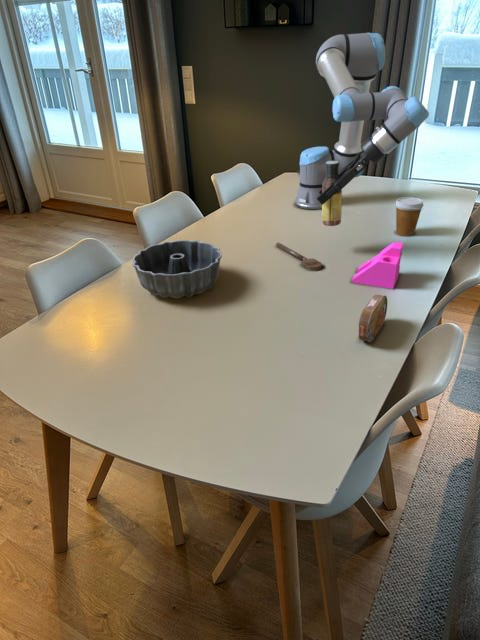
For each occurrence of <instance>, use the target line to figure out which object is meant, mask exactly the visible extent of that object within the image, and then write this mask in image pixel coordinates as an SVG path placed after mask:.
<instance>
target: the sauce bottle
mask: <svg viewBox="0 0 480 640" xmlns="http://www.w3.org/2000/svg"><path fill="white" fill-rule="evenodd" d="M338 167H339V162H338V161H328V162H326V178H325V180H324V181H323V184H322V193H323V192H324V191H325V190H326V189H327V188H329V187H330V186H331V185H332V184H331V183H332V182H333V183H335V182H336V181H337V180H338V179H339V177H338ZM342 201H343V189H342V190H341V191H337V192H336V193H335V194H334V195H333V196H332V197H331V198H330V199H329V200H328V201H326V202H325V203H324V204H323V205H322V209H321V221H322V224H323V225H324V226H327V227H335V226H339V225H340V224H341V223H342Z"/></svg>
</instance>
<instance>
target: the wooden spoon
mask: <svg viewBox="0 0 480 640" xmlns="http://www.w3.org/2000/svg"><path fill="white" fill-rule="evenodd" d="M275 247H276V248H278V249H280V250H282V251H283V252H285V253H286V254H289V255H290V256H292V257H294V258H296V259H298V260H299V261H300V262H301V267H302V268H305V269H306V270H308V271H319V270H321V269H322V266H323V265H322V262H321V261H319V260H318V259H315V258H307V257H306V256H304V255H302V254H301V253H299V252H296V251H295V250H293V249H291V248H289V247H288V246H286V245H285V244H282V243H280V242H276V243H275Z"/></svg>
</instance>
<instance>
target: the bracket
mask: <svg viewBox="0 0 480 640" xmlns="http://www.w3.org/2000/svg"><path fill="white" fill-rule="evenodd" d="M403 249H404V242H402V241H393V242H392V243H390V244H388V246H386V247H385V248H383V249H382V250H381V251H380V253H377V255H375V256H374V257H373V258H371V259H370V260H368V261H365V262H363V263H362V264H361V265H359V266H358V268H357V270H356V271H357V272H356V274H354V276H353V277H352V279H351V283H353V284H357V285H358V284H359V285H366V286H372V287H378V288H384V289H385V288H386V289H393V290H394V288H395V285H396V283H397V281H398V278H399V275H400V270H401V266H400V265H401V259H402V255H403Z"/></svg>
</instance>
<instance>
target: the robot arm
mask: <svg viewBox="0 0 480 640" xmlns="http://www.w3.org/2000/svg"><path fill="white" fill-rule="evenodd" d="M385 61H386V45H385V41H384V38H383V37H382V35H381V34H380V33H378V32H362V33H360V32H359V33H350V34H349V33H348V34H347V33H346V34H336V35H333V36H331V37H329V38H328V39H326V40H325V41H324V42H323V43H322V45H321V46H320V47H319V49H318V51H317V53H316V57H315V65H316V66H315V67H316V70H317V72H318V73H319V75H320V76H321V77H323V78H324V79H325V81H326V83H327V85H328V87H329V90H330V92H331V94H332V96H333V98H334V99H333V100H332V117H333V119H334V121H336V122H337V123H338V122H339V123H340V131H339V137H338V138H339V139H338V141H337V142H336V143H335V144H334V145H333V146H334V147H333V149H332V150H330V149H329V146H324V145H323V146H314V147H309V148H306V149H305V150H303V151H302V152H301V154H300V155H299V167H298V168H297V170H296V171H297V173H298V174H299V187H298V190H297V193H296V196H295V199H294V206H295V207H297V208H299V209H303V210H322V205H323V204H324V203H325V202H326V201H328V200H329V199H330V198H331V197H332V196H333V195H334V194H335V193H336V192H337V191H341V190H342V191H343V189H344V188H346V186H347V185H348V184H349V183H350V182H351V181H353V180H354V179H355V178H358V177H360V176H362V175H363V173H364V171H365V168H366V167H368V165H367V164H368V163H369V162H370V161H371V162H372V163H373V164H375V165H376V164H379V163H380V162H381V161H382V160H383V159H384V158H385V157H386V155H388V154H390V153H391V152H392V151H394V149H395V148H397V147H398V146H399V144H401V143H402V142H403V141H404V140H405V139H407V138H408V137H409V136H410V135H411V134H412V133H414V131H415V130H417V129H418V128H419V127H420V126H421V125H422V124H423V123H424V122H425V121H426V120H427V119H428V118H429V116H430V112H429V110H428V109H427V108H426V107H425V106H424V104H423V103H422V102H421V100H419V98H418V97H416V96H415V95H414V96H413V95H412V96H411V97H410V98H408V97H407V94H406V93H405V92H404V91H403V90H402V89H401V88H400V87H398V86H395V85H389V86H387V87H385V88H384V89H382V90H381V91H379V92H370V87H371V82H372V81H373V80H375V79H376V77H377V73H378V72H379V71H381V70H383V69H384V66H385V63H386V62H385ZM377 120H385V121H384V122H383V123H382V124H381V125H380V126H376V127H375V131H373V133H372V134H371V136H369V137H367V138H366V139H365V140H364V141H363V142H361V141H362V134H363V129H364V123H365V121H377ZM328 161H338V162H339V167H338V177H339V179H338V180H337V181H336V182H335V183H333V182H332V183H331V184H332V185H331V186H330V187H329V188H327V189H326V190H325V191H324V192H323V193H322V184H323V181H324V180H325V178H326V162H328Z"/></svg>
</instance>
